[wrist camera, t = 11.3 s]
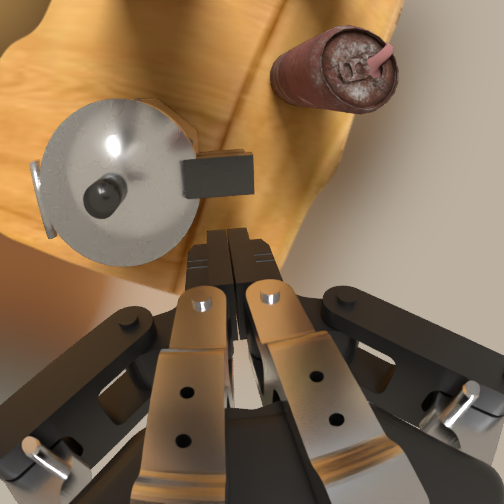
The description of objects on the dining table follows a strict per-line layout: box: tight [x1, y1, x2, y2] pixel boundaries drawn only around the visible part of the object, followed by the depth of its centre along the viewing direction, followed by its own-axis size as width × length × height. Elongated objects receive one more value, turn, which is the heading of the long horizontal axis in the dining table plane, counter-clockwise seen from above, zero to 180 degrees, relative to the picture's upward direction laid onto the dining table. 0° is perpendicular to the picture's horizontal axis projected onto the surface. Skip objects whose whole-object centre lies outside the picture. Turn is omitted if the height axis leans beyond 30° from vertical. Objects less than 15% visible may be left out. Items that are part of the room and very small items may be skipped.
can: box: [270, 25, 398, 114], centre depth 20 cm, size 6×6×14 cm
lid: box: [29, 99, 254, 267], centre depth 20 cm, size 14×18×4 cm
